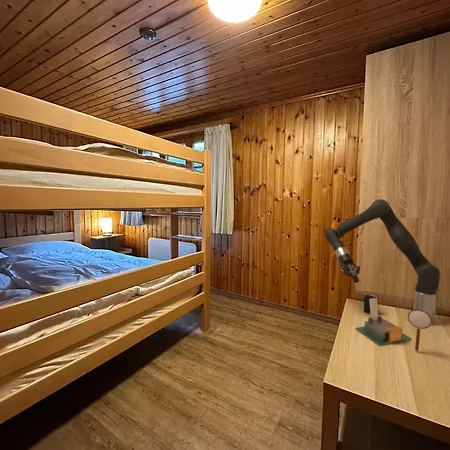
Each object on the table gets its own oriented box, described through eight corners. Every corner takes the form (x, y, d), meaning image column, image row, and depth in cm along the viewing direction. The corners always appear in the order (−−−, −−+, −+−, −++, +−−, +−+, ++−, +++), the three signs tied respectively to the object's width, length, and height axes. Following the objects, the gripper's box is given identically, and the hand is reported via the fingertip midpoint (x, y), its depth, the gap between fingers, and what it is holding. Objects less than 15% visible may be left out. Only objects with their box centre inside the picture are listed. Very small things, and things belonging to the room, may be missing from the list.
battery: (377, 313, 152) (378, 295, 150) (376, 315, 149) (377, 297, 148) (364, 309, 156) (365, 292, 155) (362, 311, 154) (364, 293, 152)
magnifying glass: (428, 354, 113) (433, 312, 110) (428, 356, 112) (432, 313, 109) (405, 347, 118) (408, 306, 116) (404, 348, 117) (408, 307, 115)
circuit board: (385, 324, 138) (386, 311, 137) (411, 340, 124) (412, 325, 123) (355, 329, 134) (356, 316, 133) (379, 346, 119) (380, 330, 118)
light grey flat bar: (378, 319, 134) (377, 319, 134) (376, 298, 134) (375, 298, 135) (372, 320, 133) (371, 320, 133) (370, 299, 133) (369, 298, 134)
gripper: (337, 253, 150) (351, 280, 140) (356, 252, 153) (371, 278, 143) (331, 260, 156) (343, 286, 146) (349, 258, 159) (363, 284, 149)
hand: (357, 282), depth 145 cm, fingers closed
